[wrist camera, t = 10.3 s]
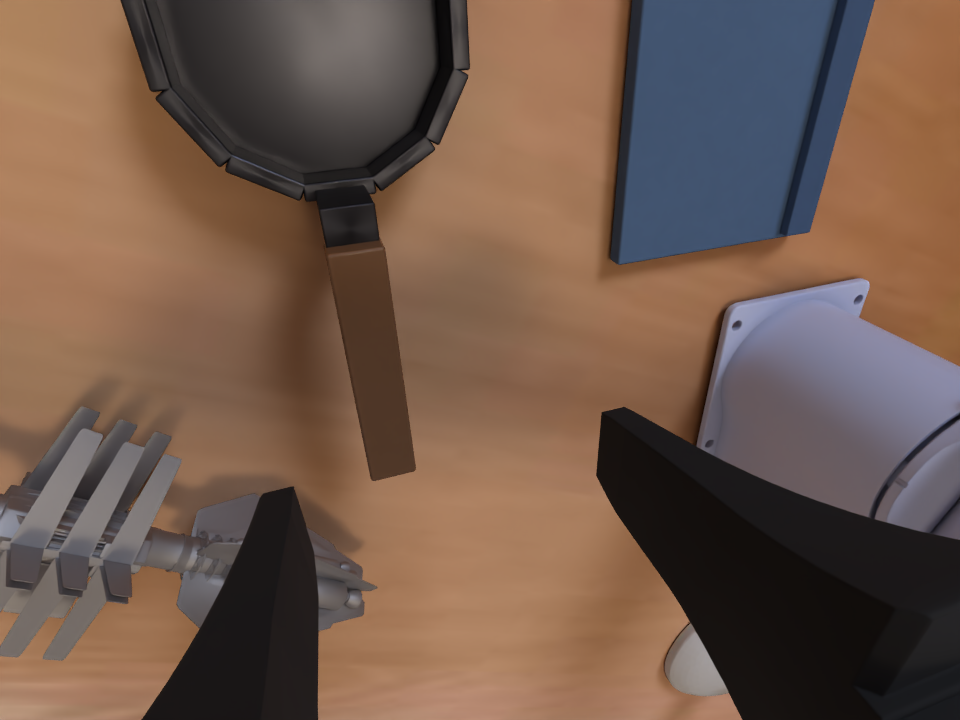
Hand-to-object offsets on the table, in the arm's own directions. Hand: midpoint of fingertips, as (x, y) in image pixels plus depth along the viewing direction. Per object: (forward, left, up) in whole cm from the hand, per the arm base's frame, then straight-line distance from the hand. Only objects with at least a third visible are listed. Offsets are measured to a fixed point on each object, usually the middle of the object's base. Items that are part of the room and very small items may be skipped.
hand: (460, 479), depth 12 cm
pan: (+5, +1, -9) cm, 10 cm away
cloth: (+8, -13, -9) cm, 18 cm away
